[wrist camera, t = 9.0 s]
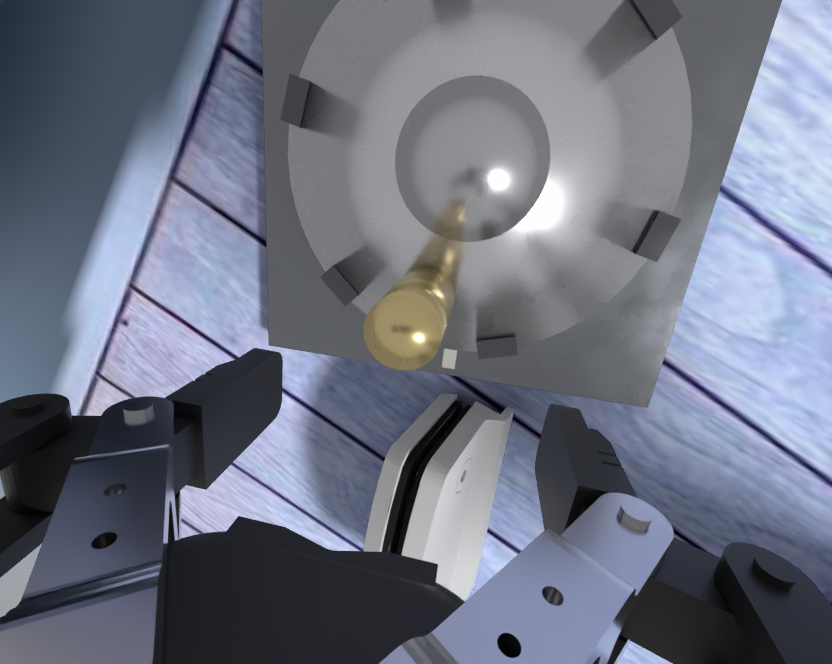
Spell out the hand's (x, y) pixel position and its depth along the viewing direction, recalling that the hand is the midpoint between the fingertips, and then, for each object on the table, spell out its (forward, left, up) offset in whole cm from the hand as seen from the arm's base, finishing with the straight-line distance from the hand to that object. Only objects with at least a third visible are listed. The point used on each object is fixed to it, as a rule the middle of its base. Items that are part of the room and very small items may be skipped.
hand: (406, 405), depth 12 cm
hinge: (-15, -1, -15) cm, 21 cm away
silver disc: (+7, -1, -13) cm, 15 cm away
